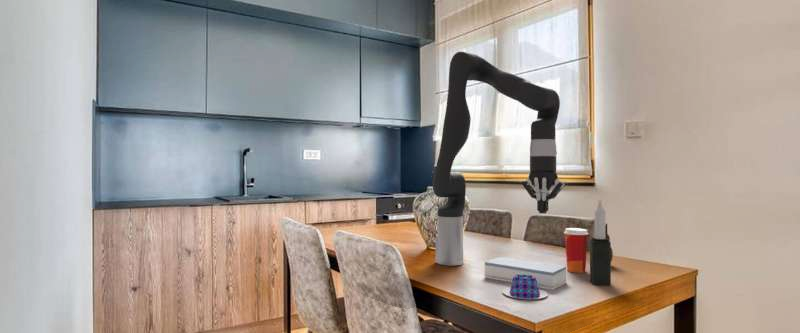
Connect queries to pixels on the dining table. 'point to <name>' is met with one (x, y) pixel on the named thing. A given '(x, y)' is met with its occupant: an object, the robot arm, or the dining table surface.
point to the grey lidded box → (541, 279)
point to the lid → (526, 266)
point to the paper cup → (576, 249)
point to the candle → (600, 251)
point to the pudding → (524, 287)
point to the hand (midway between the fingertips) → (542, 213)
